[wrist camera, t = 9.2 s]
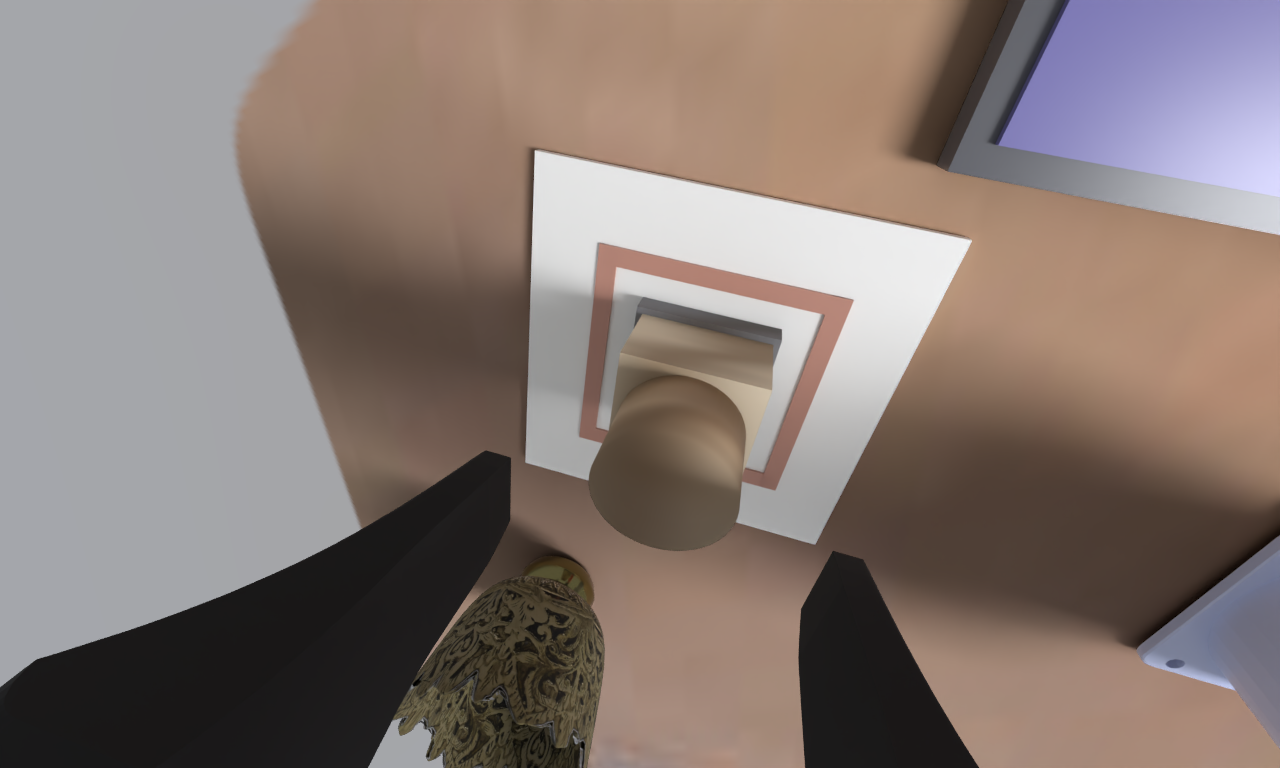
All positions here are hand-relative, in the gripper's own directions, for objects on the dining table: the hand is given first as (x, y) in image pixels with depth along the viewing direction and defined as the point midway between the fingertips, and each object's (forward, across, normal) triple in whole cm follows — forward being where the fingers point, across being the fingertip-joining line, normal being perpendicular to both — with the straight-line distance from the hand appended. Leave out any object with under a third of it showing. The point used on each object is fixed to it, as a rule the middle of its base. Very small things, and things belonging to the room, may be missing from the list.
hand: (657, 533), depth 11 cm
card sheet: (+7, 0, 0) cm, 7 cm away
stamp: (+7, 0, 0) cm, 7 cm away
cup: (+7, +4, +13) cm, 16 cm away
